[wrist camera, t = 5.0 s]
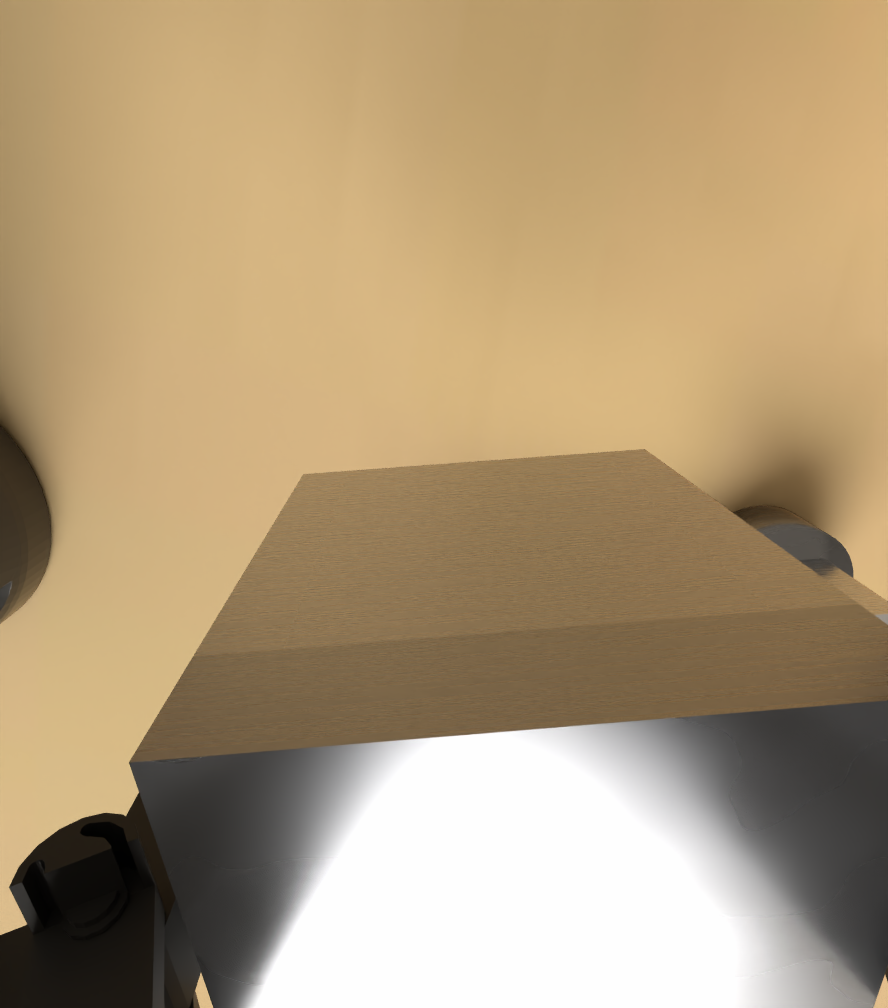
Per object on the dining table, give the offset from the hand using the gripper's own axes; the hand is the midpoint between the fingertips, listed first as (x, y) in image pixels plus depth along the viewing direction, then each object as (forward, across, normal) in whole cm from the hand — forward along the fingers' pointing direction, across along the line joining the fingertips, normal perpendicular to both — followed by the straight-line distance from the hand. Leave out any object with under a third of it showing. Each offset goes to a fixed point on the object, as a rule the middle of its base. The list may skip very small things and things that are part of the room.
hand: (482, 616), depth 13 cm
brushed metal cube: (0, 0, 0) cm, 0 cm away
